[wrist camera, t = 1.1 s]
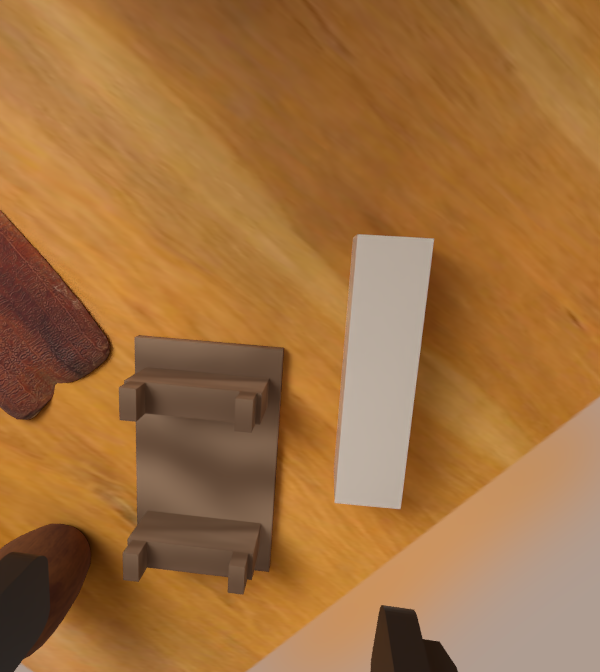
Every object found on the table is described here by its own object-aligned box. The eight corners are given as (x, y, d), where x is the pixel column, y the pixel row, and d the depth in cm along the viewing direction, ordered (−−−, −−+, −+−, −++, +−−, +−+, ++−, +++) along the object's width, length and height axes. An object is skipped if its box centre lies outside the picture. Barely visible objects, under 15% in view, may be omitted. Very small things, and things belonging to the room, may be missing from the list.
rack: (138, 335, 27) (99, 352, 23) (284, 347, 27) (274, 367, 22) (141, 550, 31) (107, 603, 26) (269, 565, 30) (259, 622, 25)
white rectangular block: (352, 237, 25) (357, 234, 21) (416, 241, 25) (434, 238, 21) (333, 467, 29) (334, 502, 24) (390, 472, 28) (400, 509, 24)
